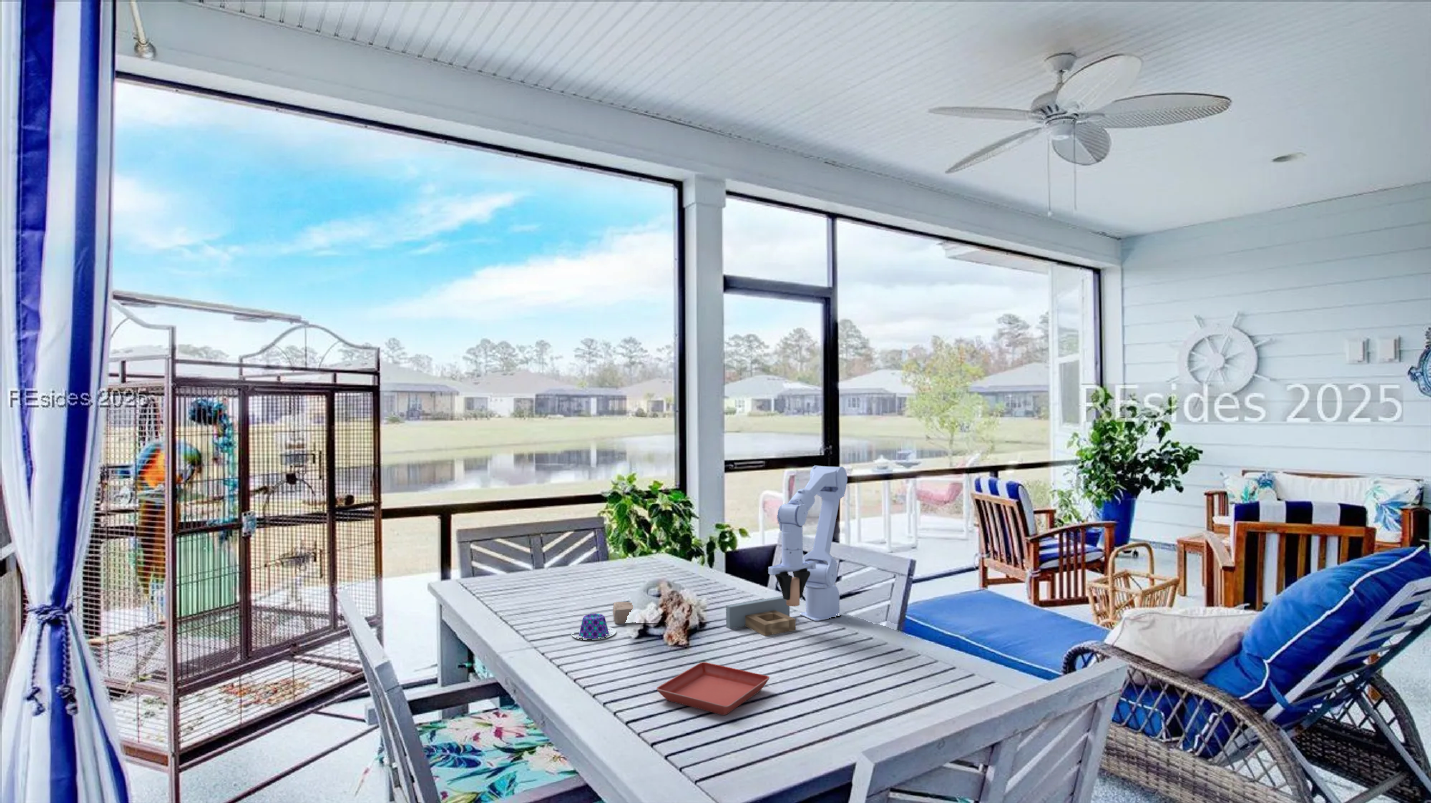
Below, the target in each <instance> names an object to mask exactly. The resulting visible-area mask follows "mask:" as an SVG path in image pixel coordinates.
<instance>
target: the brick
mask: <svg viewBox="0 0 1431 803" xmlns="http://www.w3.org/2000/svg"><path fill="white" fill-rule="evenodd" d="M632 609H633V605H632V602H630V601H616V602H613V608H612V615H613V622H614V624H620V625H623V624H624V623H625V622H626V620H627V616H628V615H629V612H631V610H632Z"/></svg>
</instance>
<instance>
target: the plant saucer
mask: <svg viewBox="0 0 1431 803" xmlns="http://www.w3.org/2000/svg"><path fill="white" fill-rule="evenodd" d="M770 678H771V677H770V676H769V675H766V674H765V675H764V674H761V673H757V672H752V671H747V670H743V669H737V668H733V667H729V666H725V665H719V664H715V663H710V662H706V661H702V662H699V663H697V664H696V665H694V666H692V667H691V668H689V669H687V670H684V671H683V672H681V673H680V674H678V675H676V676H674V677H673V678H671V679H669V680H668V681H666V682H664V683H663V684H660V685H659V686H657V687H656V690H657V692H658V693H659V694H660V695H661V696H662V697H663V698H664V699H665V700H667V701H668V702H672V703H675V702H676V703H675V704H678V705H679V704H680V705H683V706H687V707H692V708H694V709H699V710H702V711H707V712H711V713H714V714H718V715H721V716H727V715H728V714H729V713H731V712H733V711H735V709H737V708H738V707H739V706H741V705H742V704H743V703H745V702H747V701H748V700H749V699H751V698H752V697H754V696H756V694H759V692H760V691H761V690H762V689H763V688H764V687H765V686H766V684H767V683H768V681H769V679H770Z"/></svg>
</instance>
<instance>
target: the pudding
mask: <svg viewBox="0 0 1431 803" xmlns="http://www.w3.org/2000/svg"><path fill="white" fill-rule="evenodd" d="M579 629H580V632H579V635H578V636H582V637H581V638H583V637H584V638H591V639H592V641H596V640H599V638H598V637H603V638H601V639H600V640H603V639H607V638H609V637H612V636H614V635H615V634H616V633H617V630H616V629H615V628H614V627H611V626H608V625H607V621H606V617H605V615H603V614H602V613H589V614H586V615H584V616H583V618H582V620H581V624H580V627H579V628H577V629H574V630H573V631H572V632H571V636H572V637H573V638H575V639H578V640H580V639H579V638H576V636H574V635H572V634H574V632H578V631H579ZM608 629H610V631H608ZM611 629H612V630H611ZM609 632H613V633H611V634H612V635H610V636H608V635H606V634H609ZM605 636H607V637H606V638H604V637H605ZM584 638H583V640H585V641H588V640H587V639H584ZM596 638H598V639H596Z"/></svg>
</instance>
